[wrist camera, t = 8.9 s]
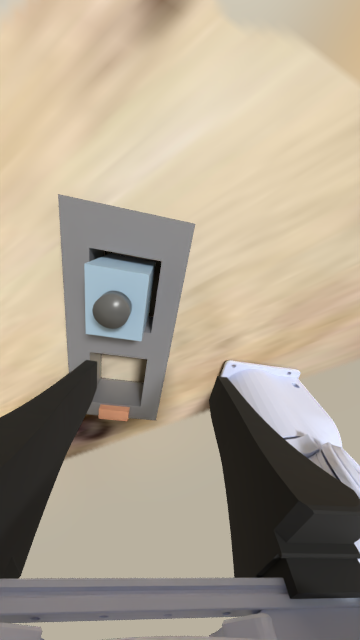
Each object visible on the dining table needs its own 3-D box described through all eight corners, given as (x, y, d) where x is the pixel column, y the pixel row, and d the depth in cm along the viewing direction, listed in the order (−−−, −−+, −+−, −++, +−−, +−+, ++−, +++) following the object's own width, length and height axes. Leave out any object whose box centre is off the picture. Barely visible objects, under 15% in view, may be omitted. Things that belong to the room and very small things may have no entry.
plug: (155, 261, 18) (147, 279, 11) (149, 310, 20) (139, 350, 13) (111, 252, 17) (75, 266, 11) (109, 304, 19) (78, 342, 13)
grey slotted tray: (190, 224, 17) (196, 223, 13) (157, 396, 25) (155, 425, 21) (81, 201, 16) (52, 192, 12) (84, 388, 24) (68, 417, 20)
